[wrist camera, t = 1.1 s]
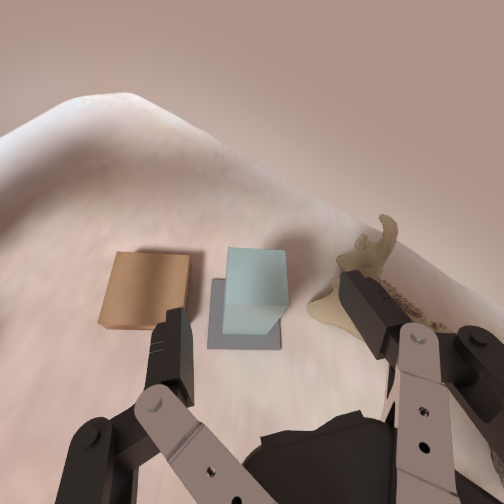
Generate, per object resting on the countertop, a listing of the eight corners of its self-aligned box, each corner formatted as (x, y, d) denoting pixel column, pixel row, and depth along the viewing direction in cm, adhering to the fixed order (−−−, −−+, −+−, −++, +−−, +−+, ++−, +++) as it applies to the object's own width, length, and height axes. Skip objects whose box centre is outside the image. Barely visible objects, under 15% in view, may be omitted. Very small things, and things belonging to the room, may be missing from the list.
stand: (107, 329, 32) (97, 322, 30) (123, 262, 36) (117, 251, 34) (183, 330, 33) (181, 324, 31) (191, 265, 37) (189, 255, 35)
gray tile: (207, 349, 32) (206, 348, 32) (212, 280, 37) (212, 279, 36) (280, 350, 33) (280, 349, 33) (276, 282, 38) (277, 281, 37)
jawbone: (300, 312, 36) (351, 262, 25) (330, 264, 41) (383, 204, 30) (476, 440, 32) (636, 450, 20) (484, 368, 37) (615, 344, 26)
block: (222, 333, 33) (225, 303, 23) (224, 291, 36) (228, 247, 25) (266, 334, 34) (289, 305, 23) (265, 293, 36) (285, 250, 26)
